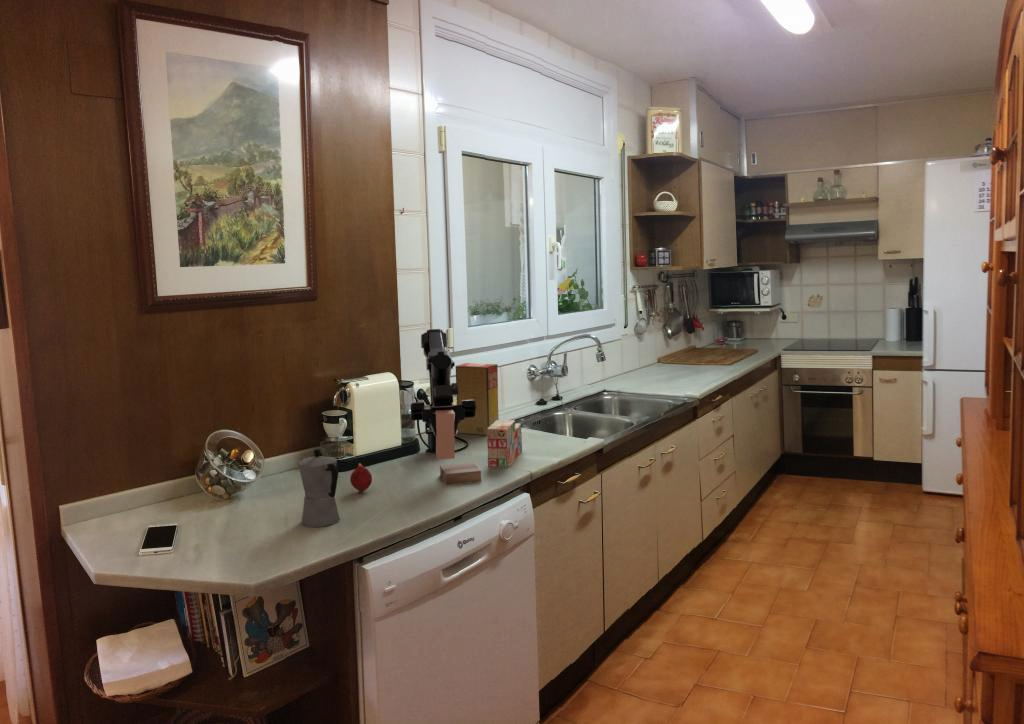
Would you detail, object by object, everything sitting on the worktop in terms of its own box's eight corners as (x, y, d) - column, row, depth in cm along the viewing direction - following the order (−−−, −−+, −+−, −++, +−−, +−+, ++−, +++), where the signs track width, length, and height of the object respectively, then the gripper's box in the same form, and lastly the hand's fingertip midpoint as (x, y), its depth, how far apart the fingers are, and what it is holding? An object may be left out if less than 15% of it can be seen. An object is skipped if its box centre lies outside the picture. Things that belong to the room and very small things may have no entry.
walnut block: (440, 476, 221) (439, 465, 221) (473, 473, 224) (473, 462, 224) (446, 486, 212) (446, 474, 211) (481, 482, 214) (480, 470, 214)
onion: (376, 490, 208) (375, 462, 207) (364, 496, 203) (363, 467, 202) (359, 488, 210) (358, 460, 209) (346, 493, 205) (345, 465, 204)
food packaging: (500, 430, 279) (498, 363, 275) (489, 436, 270) (487, 367, 267) (468, 428, 284) (466, 362, 281) (456, 433, 276) (454, 365, 272)
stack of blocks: (503, 450, 250) (503, 413, 248) (522, 450, 249) (521, 414, 247) (487, 467, 229) (486, 428, 228) (507, 468, 228) (506, 428, 226)
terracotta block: (436, 454, 218) (435, 410, 217) (453, 453, 219) (453, 410, 217) (436, 459, 214) (436, 414, 212) (454, 458, 214) (454, 413, 212)
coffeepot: (290, 519, 185) (285, 448, 183) (324, 510, 192) (320, 441, 189) (321, 535, 174) (317, 459, 172) (357, 524, 181) (353, 451, 178)
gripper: (409, 375, 216) (412, 420, 206) (474, 372, 219) (480, 417, 209) (409, 397, 224) (412, 442, 215) (472, 394, 227) (477, 438, 218)
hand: (445, 434), depth 214 cm, fingers closed on terracotta block, 5 cm apart
